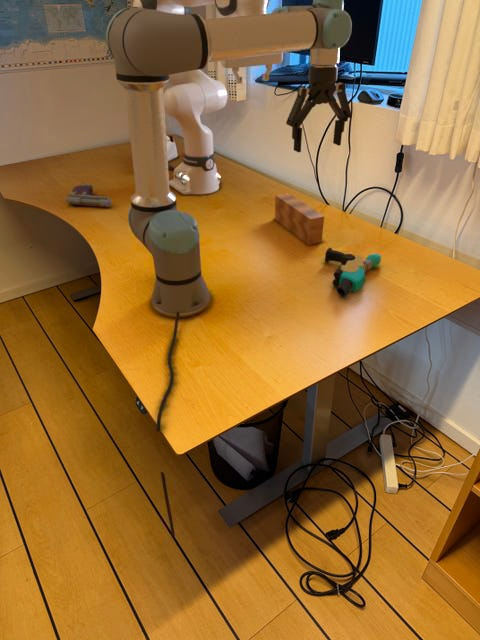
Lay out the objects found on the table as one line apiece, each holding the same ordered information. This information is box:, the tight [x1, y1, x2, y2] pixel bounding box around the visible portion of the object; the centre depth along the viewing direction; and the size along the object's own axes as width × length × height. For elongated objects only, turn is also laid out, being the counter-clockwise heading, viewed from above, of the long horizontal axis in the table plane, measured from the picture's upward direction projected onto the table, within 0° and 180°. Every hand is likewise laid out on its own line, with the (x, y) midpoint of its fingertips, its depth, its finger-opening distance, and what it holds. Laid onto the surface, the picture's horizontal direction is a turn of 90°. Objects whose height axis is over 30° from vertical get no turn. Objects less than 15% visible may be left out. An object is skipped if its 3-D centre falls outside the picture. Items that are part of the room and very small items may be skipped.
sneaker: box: [166, 134, 179, 162], centre depth 214 cm, size 10×29×12 cm, turn 163°
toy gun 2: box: [324, 247, 382, 299], centre depth 133 cm, size 4×26×15 cm
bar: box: [274, 192, 325, 246], centre depth 158 cm, size 22×5×9 cm, turn 26°
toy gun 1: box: [65, 184, 112, 208], centre depth 182 cm, size 4×19×15 cm
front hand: (317, 147), depth 138 cm, fingers open, 13 cm apart
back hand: (252, 82), depth 151 cm, fingers open, 8 cm apart
